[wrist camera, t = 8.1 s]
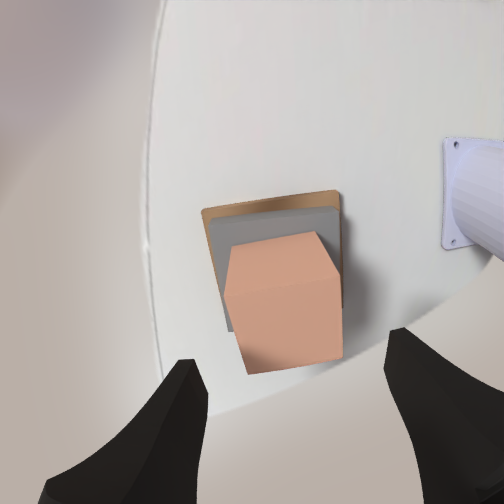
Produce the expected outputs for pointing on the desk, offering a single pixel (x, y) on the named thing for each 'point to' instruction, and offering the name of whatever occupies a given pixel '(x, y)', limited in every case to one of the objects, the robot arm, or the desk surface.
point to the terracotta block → (284, 303)
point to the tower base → (275, 205)
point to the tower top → (271, 235)
